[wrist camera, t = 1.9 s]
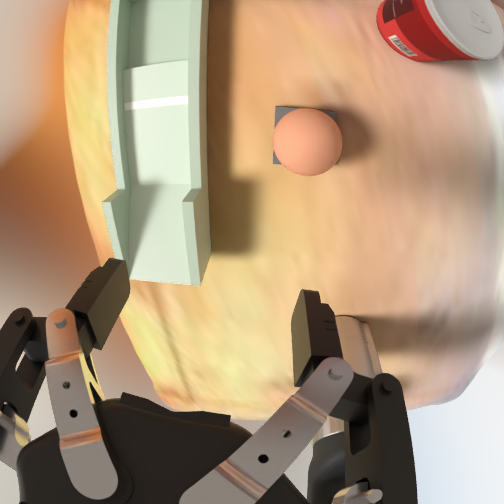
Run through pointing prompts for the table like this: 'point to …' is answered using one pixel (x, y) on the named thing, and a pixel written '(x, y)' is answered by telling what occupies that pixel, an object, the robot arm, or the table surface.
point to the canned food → (442, 29)
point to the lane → (159, 138)
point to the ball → (307, 142)
